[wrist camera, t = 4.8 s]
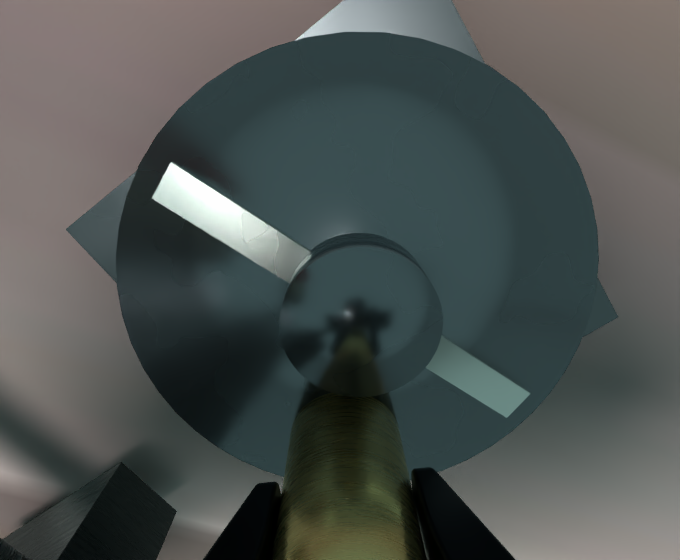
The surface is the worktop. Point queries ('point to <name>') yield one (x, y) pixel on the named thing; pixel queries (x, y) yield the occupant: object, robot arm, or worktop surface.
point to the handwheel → (356, 274)
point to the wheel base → (349, 16)
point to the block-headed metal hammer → (97, 523)
